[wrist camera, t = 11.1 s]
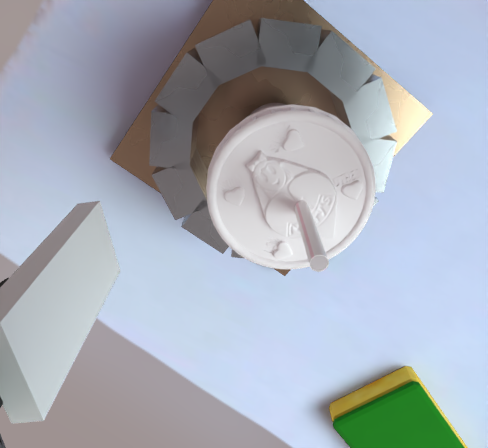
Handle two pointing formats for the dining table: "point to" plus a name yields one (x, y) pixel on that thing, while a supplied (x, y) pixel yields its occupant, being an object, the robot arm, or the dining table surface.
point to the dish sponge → (393, 415)
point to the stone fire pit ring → (258, 99)
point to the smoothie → (290, 187)
